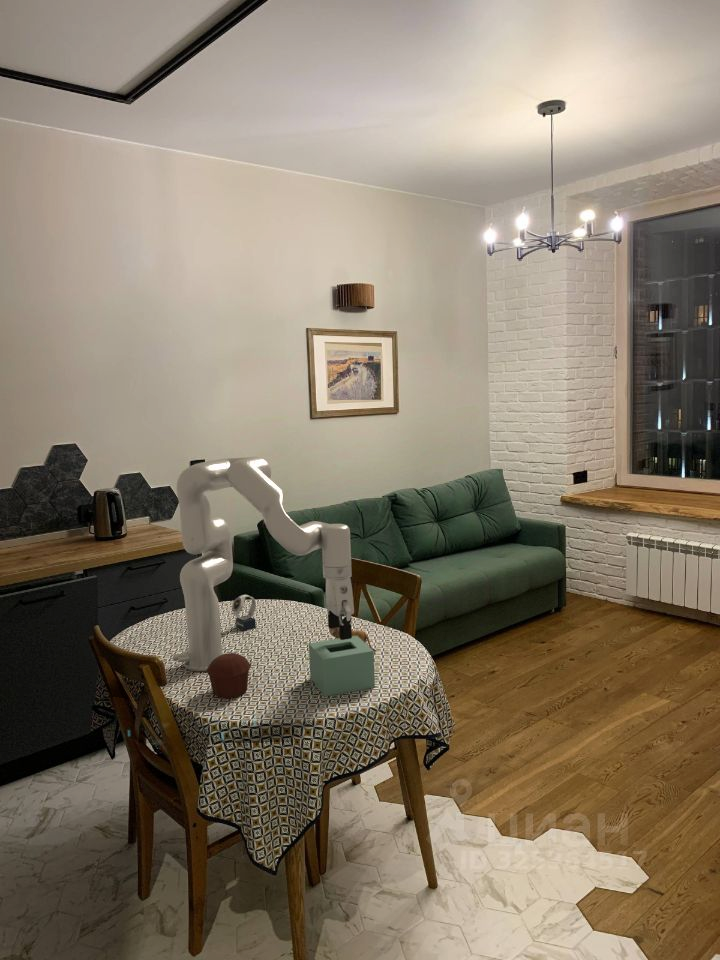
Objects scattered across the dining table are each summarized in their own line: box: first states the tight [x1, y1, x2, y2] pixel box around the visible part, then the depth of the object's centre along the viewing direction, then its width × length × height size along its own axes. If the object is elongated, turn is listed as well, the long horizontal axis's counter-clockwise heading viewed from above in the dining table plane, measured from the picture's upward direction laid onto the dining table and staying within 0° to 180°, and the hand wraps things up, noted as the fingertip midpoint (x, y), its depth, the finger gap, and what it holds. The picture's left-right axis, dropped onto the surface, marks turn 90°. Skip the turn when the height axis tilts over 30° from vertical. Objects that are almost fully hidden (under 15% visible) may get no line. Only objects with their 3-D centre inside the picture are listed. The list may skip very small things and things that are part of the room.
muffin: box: [205, 652, 252, 700], centre depth 191 cm, size 12×11×10 cm
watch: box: [231, 594, 257, 632], centre depth 243 cm, size 6×8×11 cm
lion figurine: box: [328, 624, 377, 652], centre depth 218 cm, size 15×5×9 cm, turn 72°
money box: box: [308, 636, 376, 697], centre depth 195 cm, size 14×13×10 cm
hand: (339, 633), depth 193 cm, fingers open, 9 cm apart
